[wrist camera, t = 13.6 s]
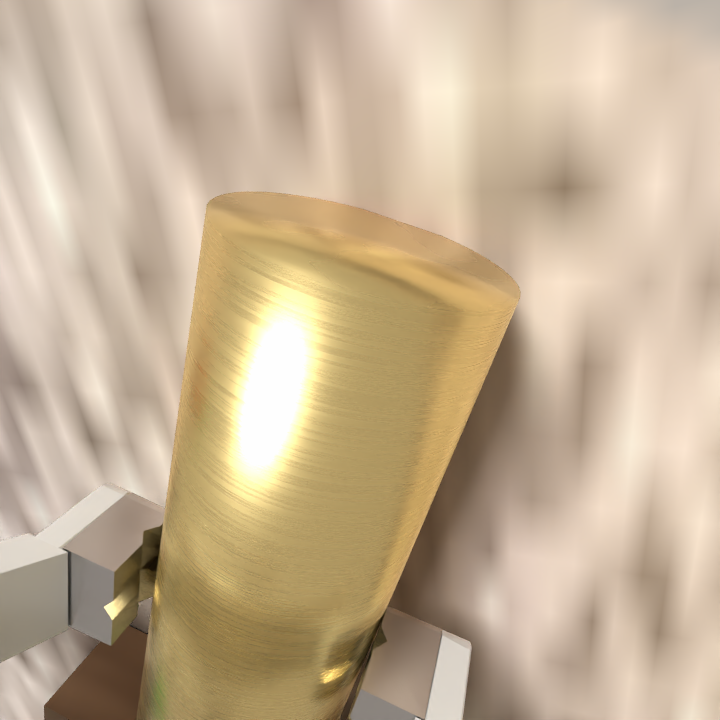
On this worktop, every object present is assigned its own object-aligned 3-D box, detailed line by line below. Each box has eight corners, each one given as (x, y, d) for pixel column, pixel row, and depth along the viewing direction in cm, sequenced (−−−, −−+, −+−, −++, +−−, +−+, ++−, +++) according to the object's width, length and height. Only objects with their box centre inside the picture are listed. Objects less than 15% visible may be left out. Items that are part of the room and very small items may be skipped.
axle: (299, 783, 15) (239, 981, 12) (174, 727, 16) (79, 903, 12) (515, 258, 8) (529, 351, 5) (280, 181, 9) (130, 215, 5)
